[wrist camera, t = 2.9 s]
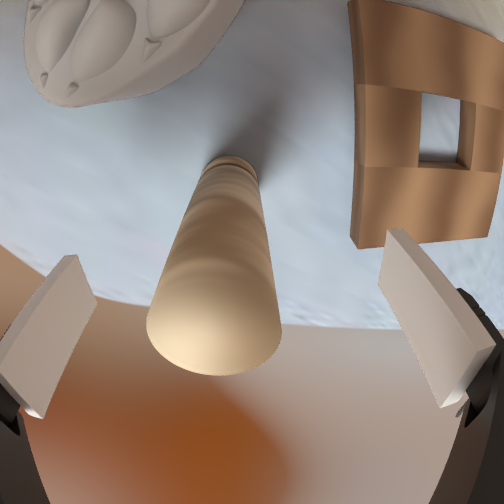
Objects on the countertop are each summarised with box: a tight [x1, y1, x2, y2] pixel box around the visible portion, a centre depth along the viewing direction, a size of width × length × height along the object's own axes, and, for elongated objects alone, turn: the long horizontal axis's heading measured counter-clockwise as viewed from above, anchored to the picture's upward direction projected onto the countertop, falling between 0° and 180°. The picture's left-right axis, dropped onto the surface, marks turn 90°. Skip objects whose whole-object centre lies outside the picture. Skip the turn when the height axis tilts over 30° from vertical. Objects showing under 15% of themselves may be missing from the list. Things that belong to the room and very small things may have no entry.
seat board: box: [348, 0, 504, 249], centre depth 17 cm, size 14×18×2 cm
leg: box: [146, 156, 282, 375], centre depth 14 cm, size 4×4×14 cm
